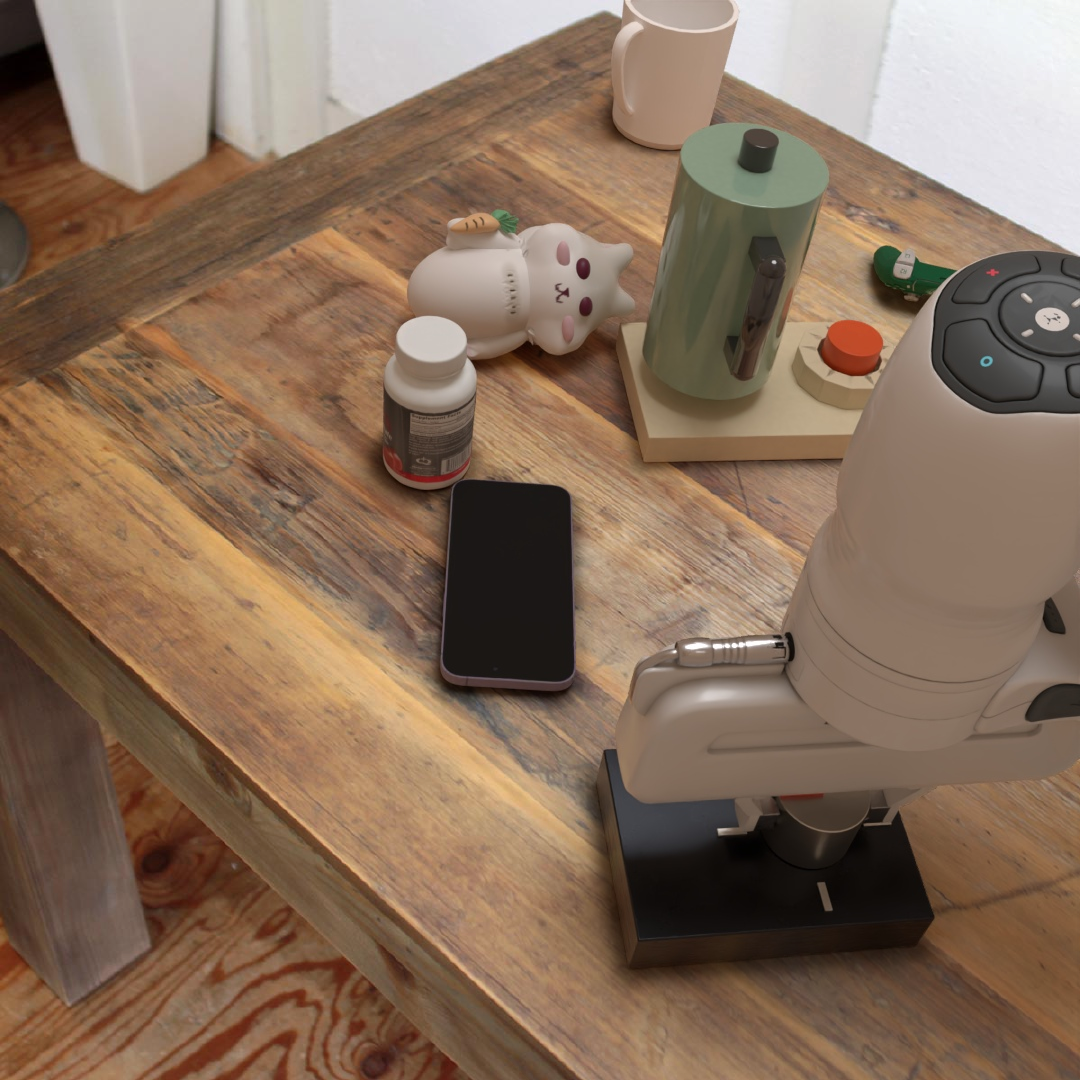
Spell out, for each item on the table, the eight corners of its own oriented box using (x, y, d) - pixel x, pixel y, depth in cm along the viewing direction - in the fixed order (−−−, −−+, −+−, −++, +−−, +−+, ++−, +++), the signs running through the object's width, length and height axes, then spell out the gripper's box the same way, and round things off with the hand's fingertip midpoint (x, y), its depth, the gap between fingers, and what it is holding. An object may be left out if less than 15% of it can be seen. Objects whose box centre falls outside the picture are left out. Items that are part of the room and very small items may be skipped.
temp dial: (836, 784, 65) (857, 742, 63) (861, 866, 63) (884, 825, 60) (749, 790, 65) (767, 747, 62) (771, 872, 62) (790, 831, 59)
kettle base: (856, 345, 93) (873, 300, 90) (904, 457, 86) (923, 412, 83) (615, 347, 91) (623, 300, 88) (643, 462, 83) (653, 416, 80)
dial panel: (857, 765, 70) (874, 732, 68) (916, 946, 63) (937, 916, 61) (595, 780, 68) (603, 746, 65) (628, 969, 61) (638, 939, 59)
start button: (866, 340, 88) (874, 319, 87) (882, 376, 86) (890, 355, 84) (814, 340, 87) (821, 319, 86) (829, 377, 85) (836, 356, 84)
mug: (662, 84, 114) (683, -34, 107) (735, 134, 110) (763, 15, 102) (565, 120, 109) (580, -2, 101) (638, 173, 105) (659, 50, 97)
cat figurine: (397, 219, 82) (639, 201, 83) (400, 211, 90) (622, 194, 90) (412, 373, 85) (646, 354, 86) (414, 352, 92) (629, 335, 93)
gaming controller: (862, 295, 100) (874, 284, 94) (874, 245, 100) (887, 231, 94) (984, 323, 99) (1004, 314, 93) (997, 273, 99) (1018, 260, 93)
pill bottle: (375, 435, 83) (376, 310, 75) (460, 426, 84) (469, 303, 77) (390, 497, 79) (393, 373, 72) (478, 487, 81) (490, 364, 73)
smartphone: (572, 485, 80) (577, 684, 70) (570, 498, 81) (575, 697, 71) (451, 476, 80) (438, 676, 70) (450, 490, 81) (437, 689, 70)
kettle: (748, 291, 90) (804, 77, 78) (798, 432, 81) (871, 214, 69) (625, 291, 88) (665, 73, 77) (663, 434, 79) (714, 213, 68)
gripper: (655, 715, 49) (605, 891, 59) (1168, 688, 52) (1035, 860, 62) (626, 582, 53) (584, 768, 63) (1103, 565, 56) (989, 745, 66)
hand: (811, 813), depth 63 cm, fingers closed on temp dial, 4 cm apart
